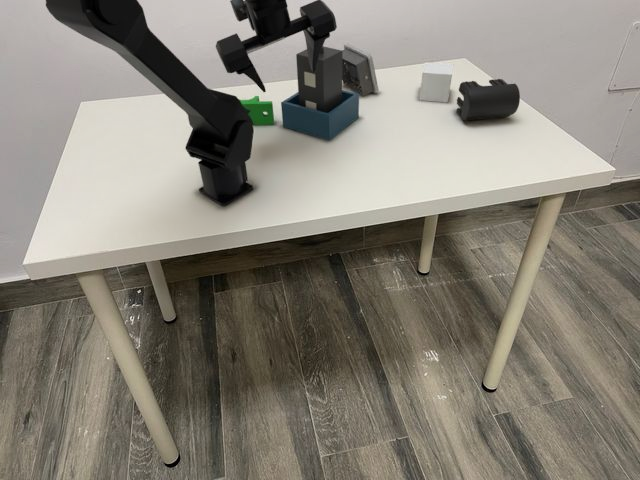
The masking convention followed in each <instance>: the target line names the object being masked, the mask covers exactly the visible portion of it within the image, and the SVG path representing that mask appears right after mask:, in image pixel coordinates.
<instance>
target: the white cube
mask: <svg viewBox="0 0 640 480" xmlns="http://www.w3.org/2000/svg"><path fill="white" fill-rule="evenodd" d="M453 72H454V64H453V63H440V62H426V61H425V62H424V65H423V70H422V74H421V83H420V91H419V100H418V101H426V102H439V103H448V102H449V97H450V90H451V85H452V77H453Z"/></svg>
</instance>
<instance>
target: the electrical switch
mask: <svg viewBox="0 0 640 480" xmlns="http://www.w3.org/2000/svg"><path fill="white" fill-rule="evenodd" d="M341 50H342V49H341ZM342 85H343V86H345V87H346V88H348V89H350V90H351V91H352V92H354V93H357V94H359V96H362V97H365V96H367V95H368V94H371V93H373V94H377V93H378V92H379V91H380V90H379V85H378V79H377V74H376V70H375V64H374V59H373V56H372V55H371V53H369V52H367V51H364V50H362V49H361V48H358V47H356V46H355V45H352V44H350V43H346V44H343V50H342Z"/></svg>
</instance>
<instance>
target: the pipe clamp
mask: <svg viewBox="0 0 640 480" xmlns="http://www.w3.org/2000/svg"><path fill="white" fill-rule="evenodd" d="M235 96H236V97H237V98H238V96H237V95H235ZM238 99H239V100H240V102H241V103H242V105H243V106H244V107H245V108H246V109H249V110H250V113H248V115H250V117H251V119H252V121H253V125H252V126H274V125H275V115H274V114H275V113H274V105H273V104H274V103H273V101H272V100H269V101H268V100H265V101H263V100H262V101H261V100H260V96H259V95H254V96H253V97H252V98H250V99H240V98H238ZM265 113H267V114H265Z"/></svg>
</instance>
